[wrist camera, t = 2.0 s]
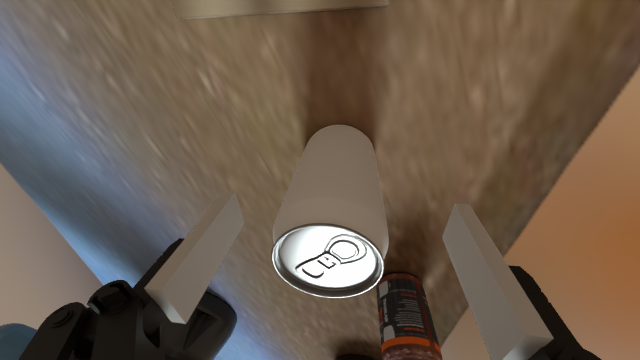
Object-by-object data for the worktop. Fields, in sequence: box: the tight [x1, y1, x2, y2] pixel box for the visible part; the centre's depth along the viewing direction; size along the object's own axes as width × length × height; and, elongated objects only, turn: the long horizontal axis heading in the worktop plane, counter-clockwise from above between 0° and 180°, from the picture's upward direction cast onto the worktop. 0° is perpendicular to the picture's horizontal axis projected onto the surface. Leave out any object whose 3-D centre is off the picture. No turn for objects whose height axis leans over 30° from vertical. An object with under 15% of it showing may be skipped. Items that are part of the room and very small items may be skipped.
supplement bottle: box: [377, 273, 442, 360], centre depth 26 cm, size 6×6×11 cm
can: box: [271, 125, 389, 298], centre depth 16 cm, size 6×6×12 cm
